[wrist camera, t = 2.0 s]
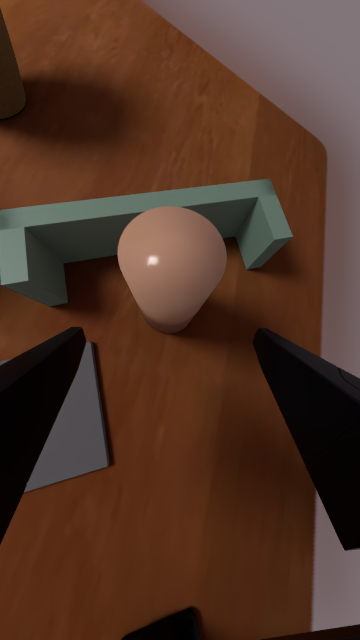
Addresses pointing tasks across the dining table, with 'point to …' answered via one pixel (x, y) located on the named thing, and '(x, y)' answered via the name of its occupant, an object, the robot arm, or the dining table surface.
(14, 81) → the plant pot
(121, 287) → the dining table surface
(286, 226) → the green bracket handle
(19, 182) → the dining table surface
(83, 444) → the mat
